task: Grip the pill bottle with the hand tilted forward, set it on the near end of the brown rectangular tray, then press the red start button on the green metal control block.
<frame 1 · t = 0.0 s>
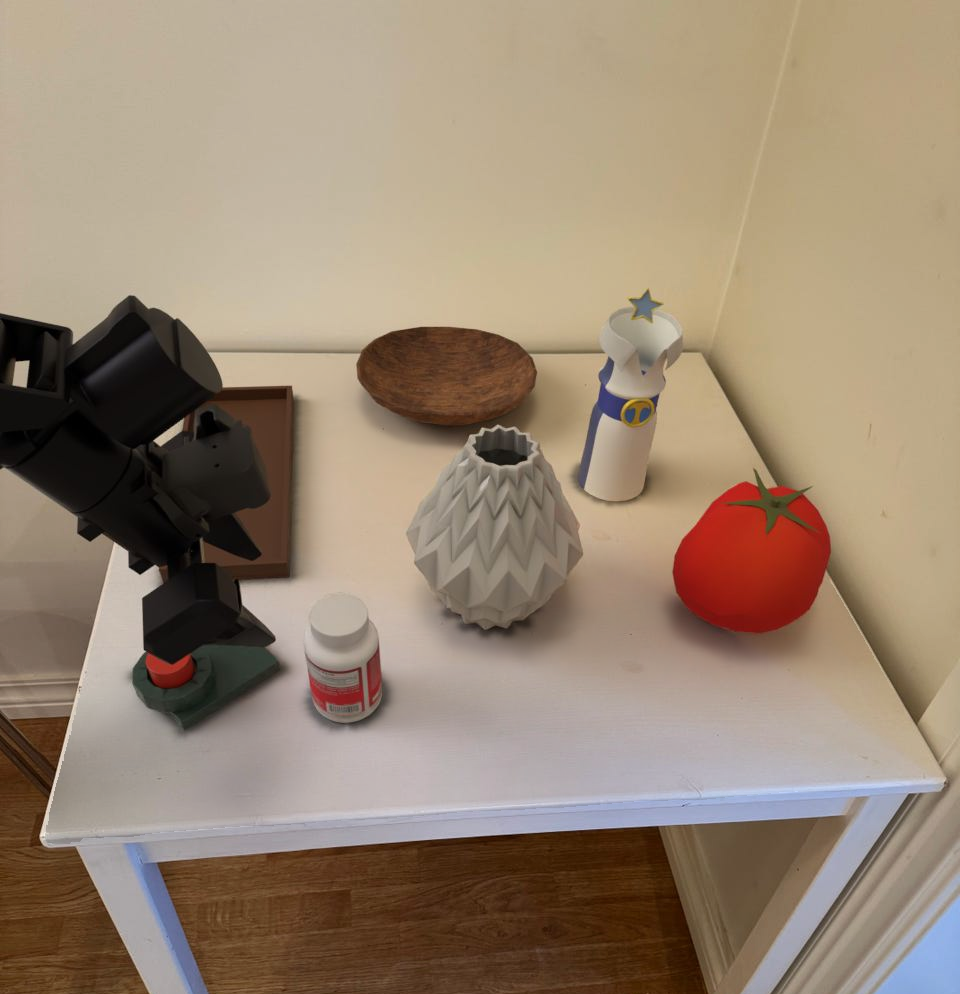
hand: (263, 597, 65), 14 cm above the table, tool tilted 35°, fingers open, 9 cm apart
white toy figure: (612, 481, 99), on the table
tomato: (728, 611, 86), on the table
start button: (170, 665, 73), point 4 cm above the table, slide at 0.1 cm
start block: (208, 672, 77), on the table
brown rectangular tray: (236, 480, 95), on the table
bowl: (446, 403, 108), on the table
vase: (490, 600, 85), on the table
pill bottle: (347, 698, 76), on the table
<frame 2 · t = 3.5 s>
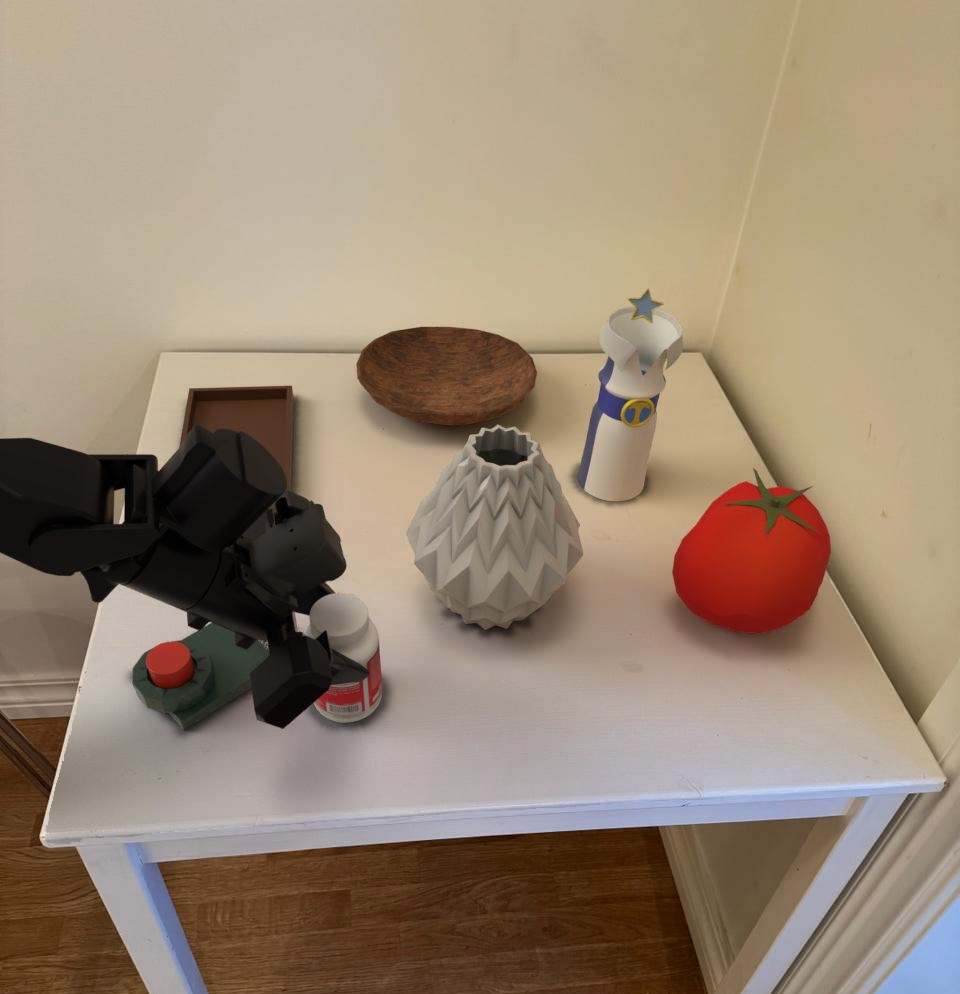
hand: (359, 646, 72), 7 cm above the table, tool tilted 45°, fingers closed on pill bottle, 6 cm apart
pill bottle: (347, 698, 76), on the table, touching gripper
everything else where it was.
when the fingers open (7 cm above the table, at t = 11.9 s): pill bottle stays where it is, resting on brown rectangular tray.
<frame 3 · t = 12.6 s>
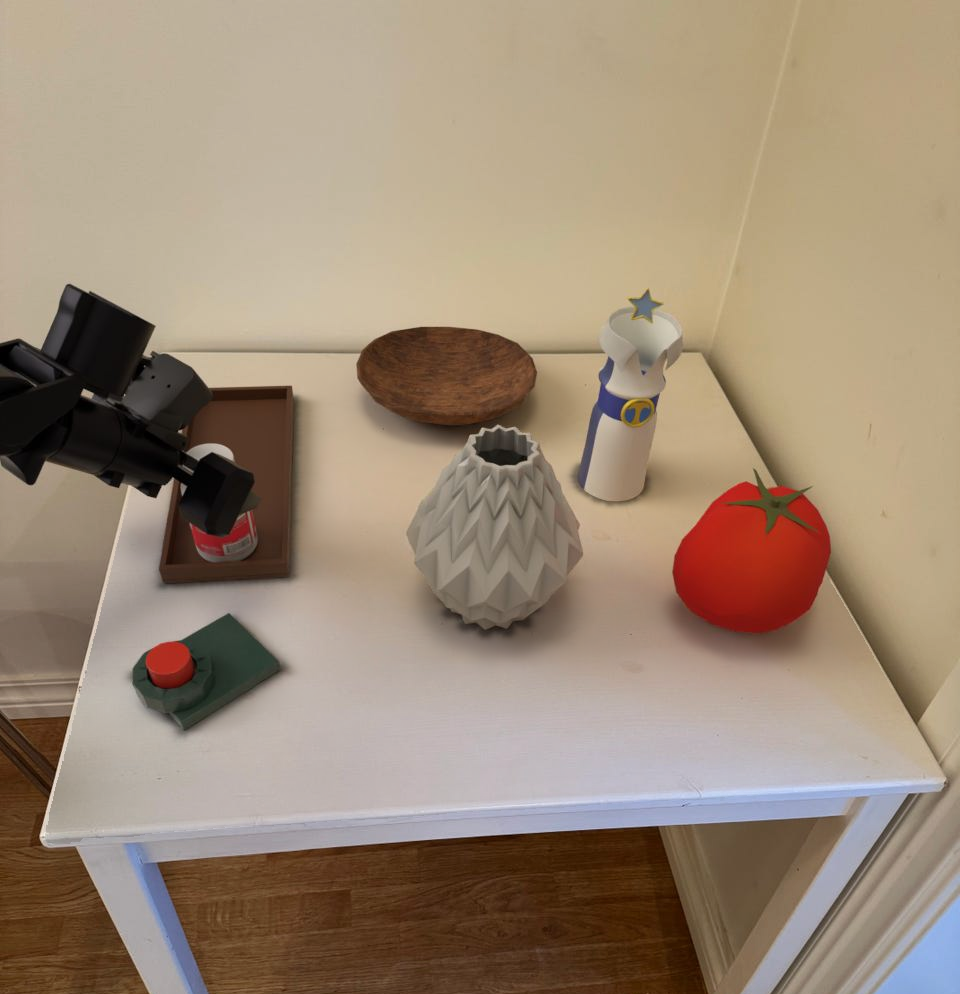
hand: (225, 481, 83), 8 cm above the table, tool tilted 45°, fingers open, 9 cm apart
pill bottle: (228, 547, 88), resting on brown rectangular tray
everything else where it was.
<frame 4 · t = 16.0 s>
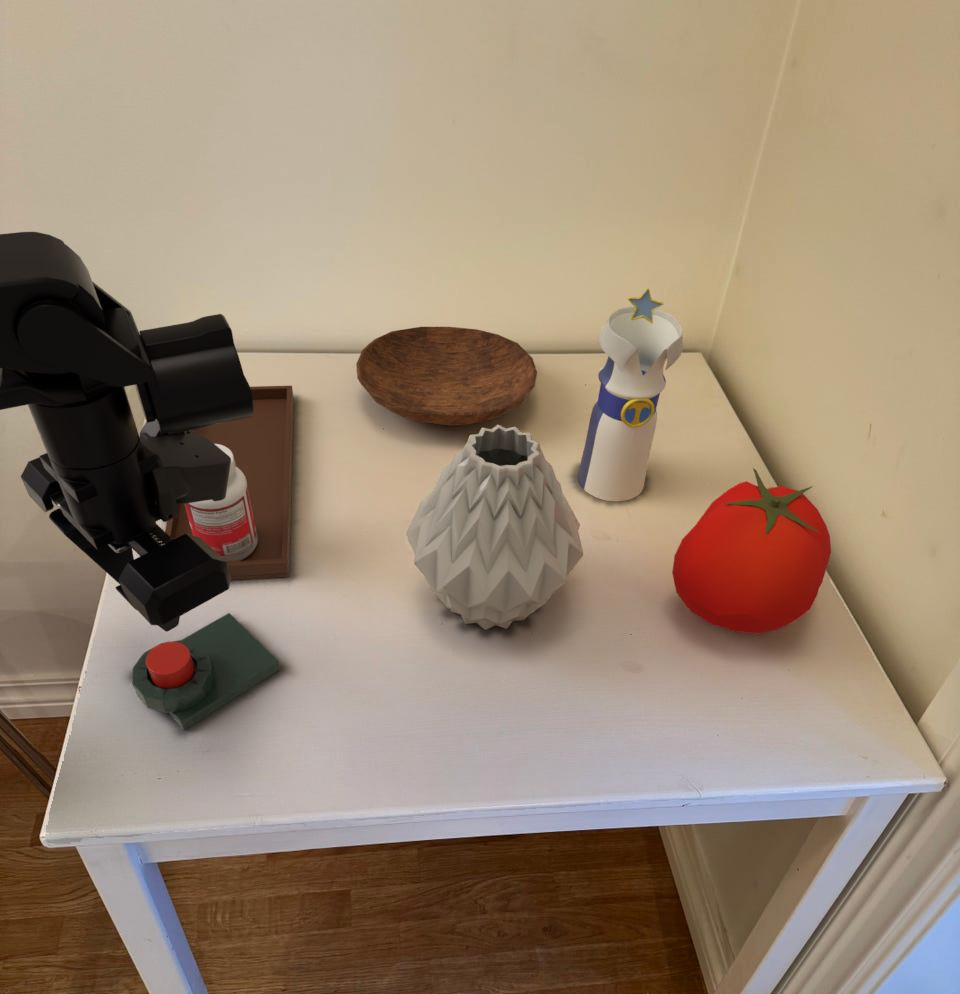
hand: (150, 605, 68), 11 cm above the table, tool pointing down, fingers open, 6 cm apart
nothing on the table moved.
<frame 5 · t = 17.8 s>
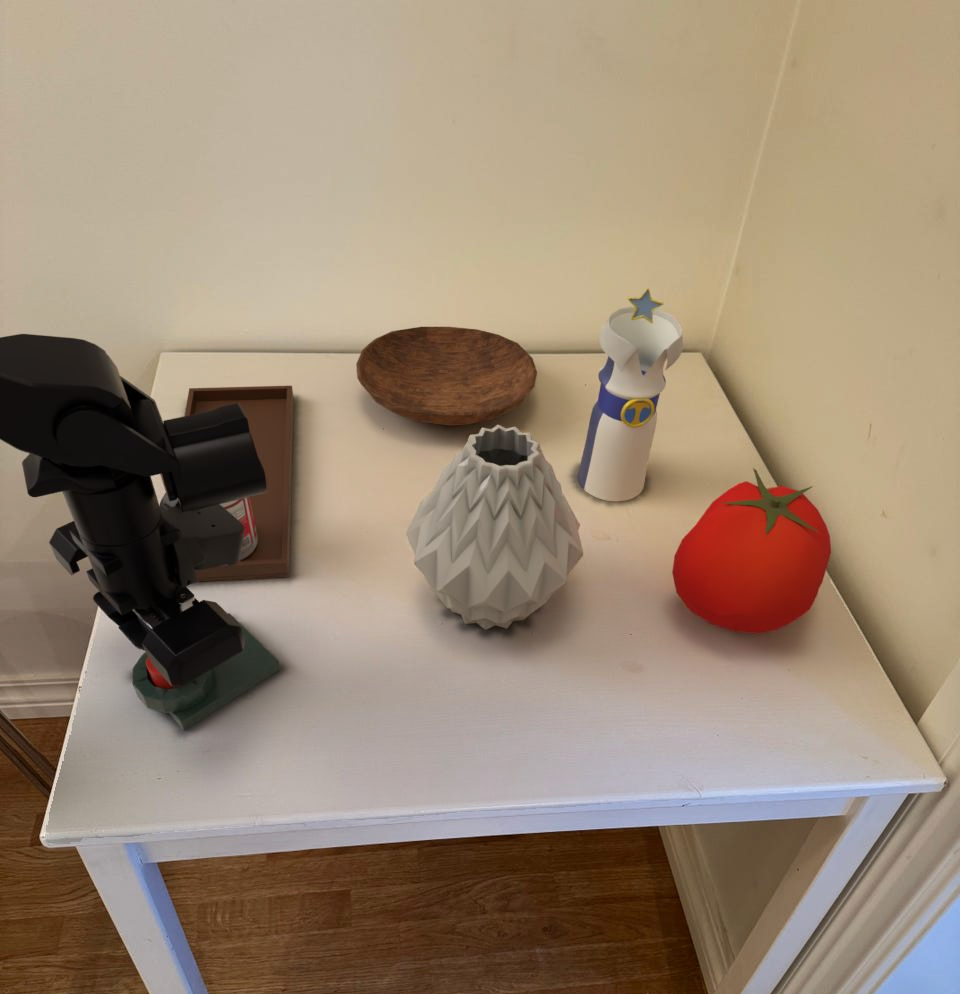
hand: (167, 659, 72), 4 cm above the table, tool pointing down, fingers closed, pressing on start button
start button: (170, 666, 73), point 3 cm above the table, slide at -0.1 cm, touching gripper
everything else where it was.
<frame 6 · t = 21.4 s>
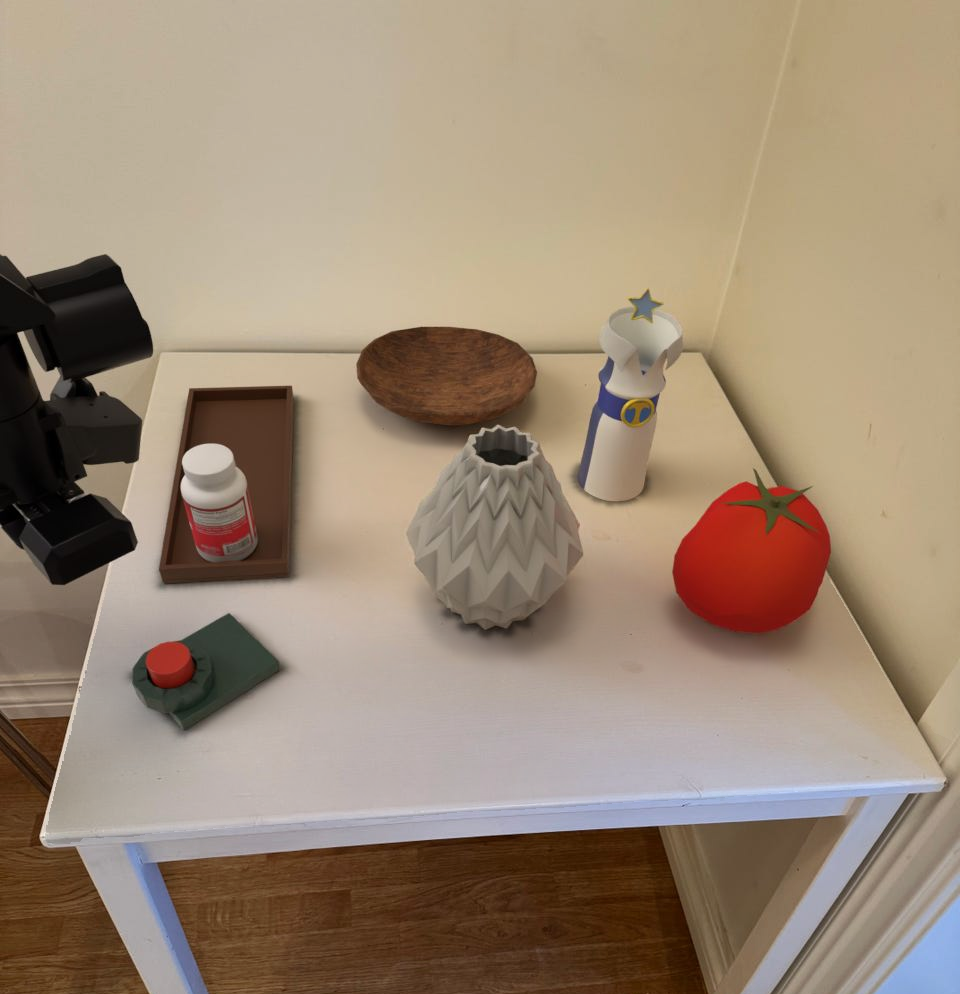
hand: (67, 571, 67), 13 cm above the table, tool pointing down, fingers closed
start button: (170, 665, 73), point 4 cm above the table, slide at 0.1 cm
everything else where it was.
at the end: pill bottle inside the target area in the brown rectangular tray (0.2 cm from its centre), point 0.3 cm above the brown rectangular tray's base; pill bottle tilted 0°; start button pushed in 1.1 cm at the most during the clip, back to where it started at the end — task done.
